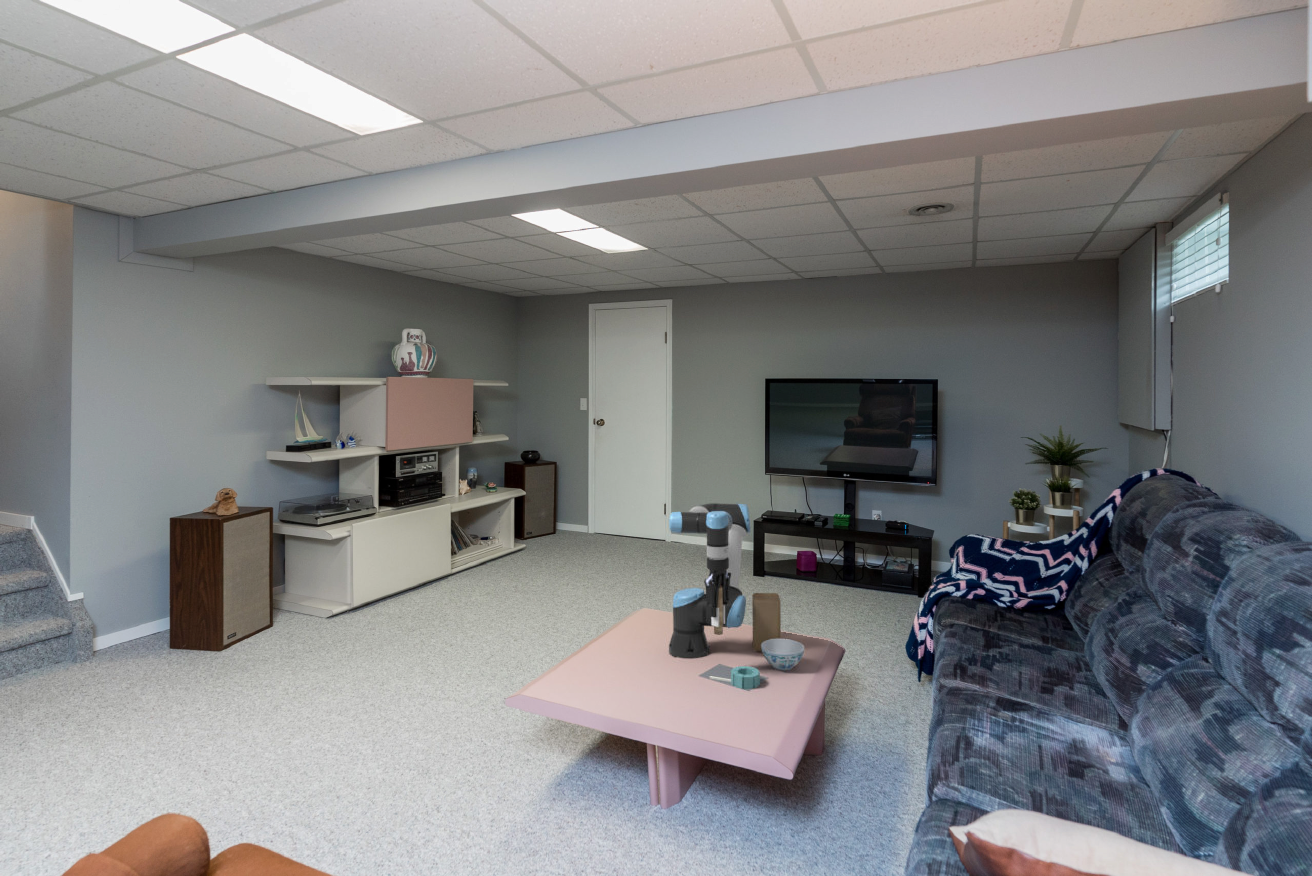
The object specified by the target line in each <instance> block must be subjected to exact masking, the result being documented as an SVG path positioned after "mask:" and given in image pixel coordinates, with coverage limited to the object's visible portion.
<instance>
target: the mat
mask: <svg viewBox="0 0 1312 876" xmlns="http://www.w3.org/2000/svg"><path fill="white" fill-rule="evenodd" d="M733 668H734V667H732V666H728V665H726V664H721V663H718V664H717V665H715V666H713V667H712V668H710V669H708V670H706V671H704V672H702V673H701V674H699V675H698V677H701V678H704V679H707V680H711V681H714V682H717V683H720V684H724V685H727V686H730V687H734V686H733V685H732V683H731V682H729V681H723V680H717V679H711V678H709V677H710V676H713V677H719V678H725V679H731V670H732V669H733ZM768 679H769V677H766V676H764V675H760V684H762V683H764V682H765V681H766V680H768ZM734 688H736V689H738V688H737V687H734ZM742 690H743V691H745V692H746V691H747V692H749V691H752V689H744V688H743V689H742Z"/></svg>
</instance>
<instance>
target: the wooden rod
mask: <svg viewBox="0 0 1312 876" xmlns="http://www.w3.org/2000/svg"><path fill="white" fill-rule="evenodd" d="M718 608H719V627H716V626H714V627H713V634H714V635H716V636H719V635H720V636H721V635H723V634H724V632H723V631H724V627H723V592H722V586H721V585H720V588H719V594H718Z"/></svg>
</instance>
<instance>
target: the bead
mask: <svg viewBox="0 0 1312 876" xmlns="http://www.w3.org/2000/svg"><path fill="white" fill-rule="evenodd" d="M732 668H733V669H732V670H731V683H732V685H733V686H734V688H736V687H737V688H736V689H741V690H743V688H744V689H751V690H753V689H756V688H758V687H759V686H760V684H761V683H760V674H761V672H760V671H759V668H756V667H752V666H750V665H749V666H747V665H744V666H743V665H741V666H740V665H739V666H734V667H732ZM733 686H732V687H733Z"/></svg>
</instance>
